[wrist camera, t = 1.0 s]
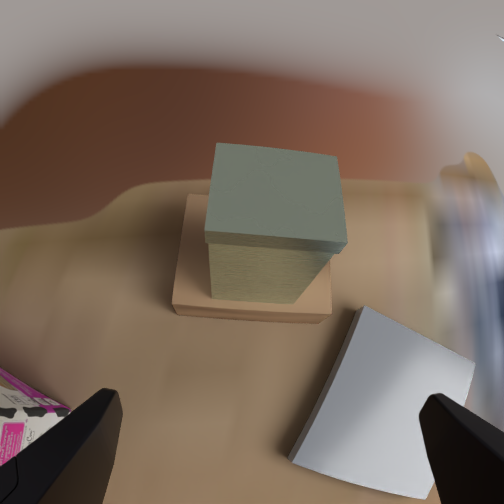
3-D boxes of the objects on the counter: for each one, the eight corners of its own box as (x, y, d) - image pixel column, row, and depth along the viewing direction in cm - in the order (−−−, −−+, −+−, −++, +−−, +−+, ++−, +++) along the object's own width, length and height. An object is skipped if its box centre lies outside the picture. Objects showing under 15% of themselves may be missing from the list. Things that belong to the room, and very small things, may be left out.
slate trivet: (415, 495, 17) (425, 499, 15) (287, 458, 18) (291, 462, 17) (464, 365, 22) (475, 363, 20) (356, 310, 23) (364, 305, 22)
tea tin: (294, 306, 20) (347, 242, 11) (210, 300, 19) (204, 230, 11) (294, 244, 21) (336, 156, 13) (215, 238, 21) (216, 142, 13)
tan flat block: (318, 323, 22) (332, 313, 20) (177, 314, 22) (171, 303, 19) (315, 225, 26) (325, 206, 23) (190, 215, 25) (188, 193, 22)
